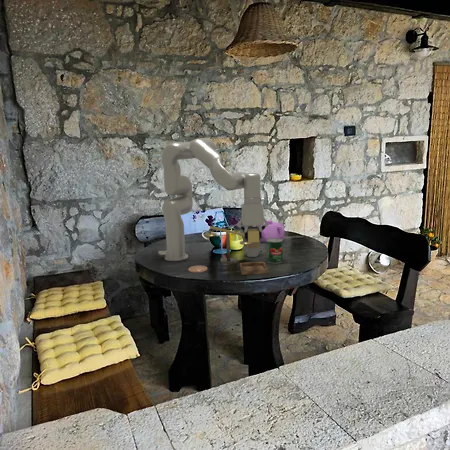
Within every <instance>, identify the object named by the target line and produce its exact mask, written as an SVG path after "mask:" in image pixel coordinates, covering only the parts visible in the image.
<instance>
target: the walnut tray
mask: <svg viewBox="0 0 450 450" xmlns="http://www.w3.org/2000/svg"><path fill="white" fill-rule="evenodd" d="M239 269H240V274H241V276H244V275H246V276H247V275H268V274H269V268H268V267H267V264H266V262H265V261H256V262H255V261H252V262H251V261H249V262H239Z"/></svg>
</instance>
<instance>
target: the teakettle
mask: <svg viewBox="0 0 450 450" xmlns="http://www.w3.org/2000/svg"><path fill="white" fill-rule="evenodd" d="M266 221H267V222H268V223H269V225H268V226H267V227H265V229H264V230H263V231H262V238H260V243H265V244H267V239H270V238H280V239H283V241H284V239H285V237H286V234H285V226H283V223H282V222H274V221H273V220H272V219H268V220H266ZM264 224H265V222H264ZM264 224H263V225H264ZM263 225H261V227H262V226H263ZM257 227H258V226H257Z"/></svg>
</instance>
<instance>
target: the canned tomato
mask: <svg viewBox="0 0 450 450" xmlns="http://www.w3.org/2000/svg"><path fill="white" fill-rule="evenodd" d="M283 243H284V240H283V239H280V238H270V239H267V243H266V262H267V263H268V264H271V265H272V264H281V263H283V262H284V261H283V260H284V248H283V247H284V244H283Z"/></svg>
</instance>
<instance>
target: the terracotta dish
mask: <svg viewBox="0 0 450 450" xmlns="http://www.w3.org/2000/svg"><path fill="white" fill-rule="evenodd" d="M206 271H208V267H207V266H206V265H193V266H190V267H188V272H190V273H204V272H206Z"/></svg>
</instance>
